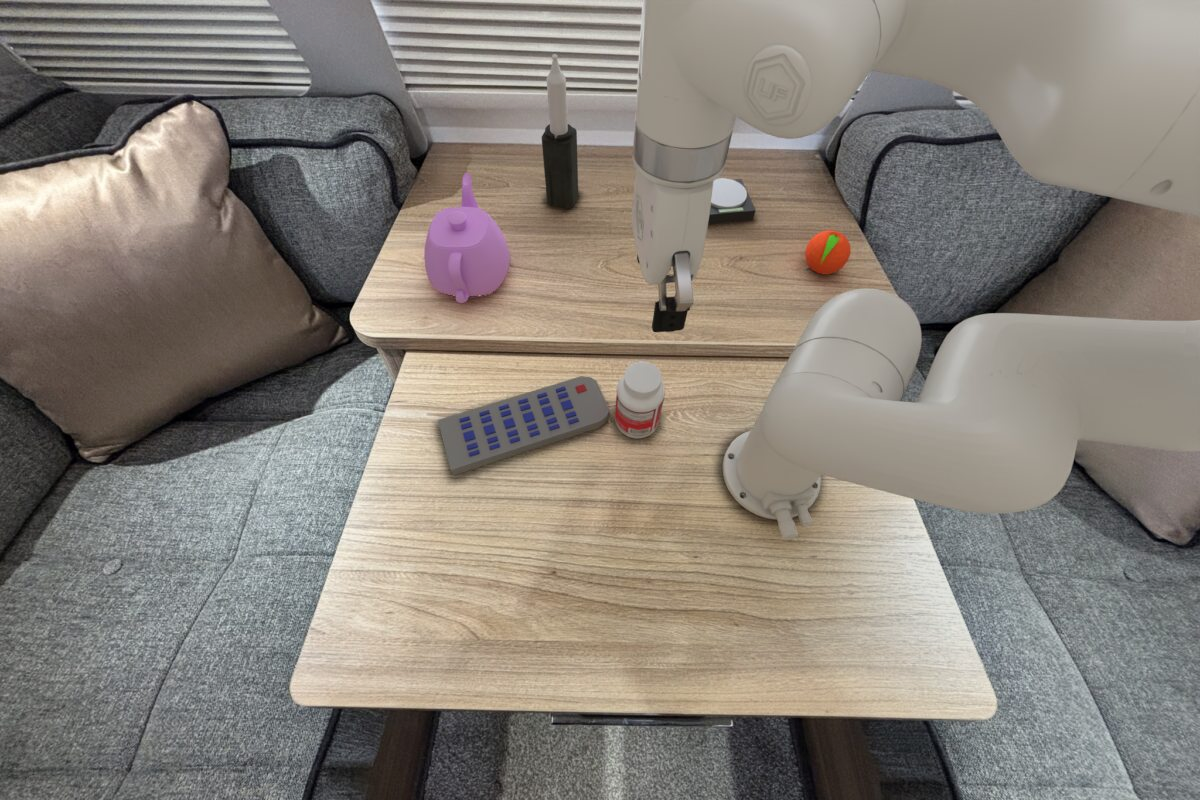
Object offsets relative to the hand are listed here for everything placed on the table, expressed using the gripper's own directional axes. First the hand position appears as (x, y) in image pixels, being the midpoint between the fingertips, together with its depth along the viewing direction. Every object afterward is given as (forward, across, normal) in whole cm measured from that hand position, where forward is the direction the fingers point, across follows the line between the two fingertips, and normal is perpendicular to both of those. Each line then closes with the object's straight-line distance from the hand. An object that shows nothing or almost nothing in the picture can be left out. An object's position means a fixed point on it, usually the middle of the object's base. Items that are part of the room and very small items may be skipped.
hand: (659, 293), depth 56 cm
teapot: (+23, -29, -24) cm, 44 cm away
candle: (+23, -46, -8) cm, 52 cm away
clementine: (+23, -23, +34) cm, 47 cm away
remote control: (+23, +2, -17) cm, 29 cm away
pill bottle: (+23, +2, -1) cm, 23 cm away
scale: (+23, -41, +22) cm, 51 cm away
